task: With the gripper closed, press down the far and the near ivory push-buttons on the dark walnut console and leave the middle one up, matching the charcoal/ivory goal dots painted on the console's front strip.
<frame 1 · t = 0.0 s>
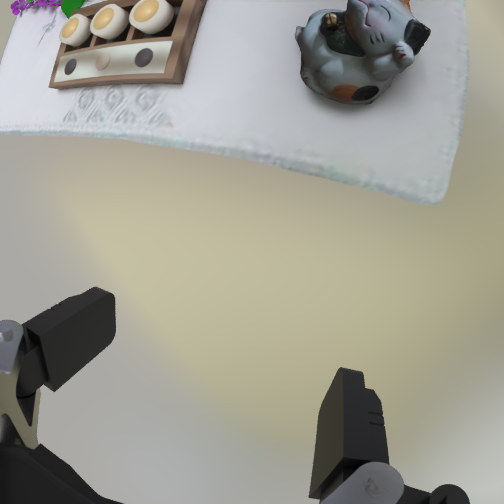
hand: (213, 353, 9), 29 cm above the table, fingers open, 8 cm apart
button mid: (109, 21, 30), point 5 cm above the table, slide at 0.0 cm
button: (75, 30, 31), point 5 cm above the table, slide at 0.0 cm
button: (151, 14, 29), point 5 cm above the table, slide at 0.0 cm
potted plant: (54, 3, 35), on the table
console: (122, 40, 35), on the table
lucky cat figurine: (351, 53, 30), on the table
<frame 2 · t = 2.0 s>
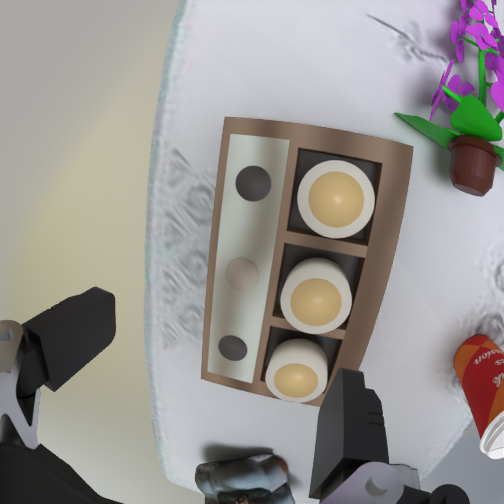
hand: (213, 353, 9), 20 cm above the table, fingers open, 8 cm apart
button mid: (316, 295, 24), point 5 cm above the table, slide at 0.0 cm
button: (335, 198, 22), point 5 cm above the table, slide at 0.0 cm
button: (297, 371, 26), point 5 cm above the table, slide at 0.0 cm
potted plant: (458, 38, 19), on the table
paper cup: (472, 353, 26), on the table
console: (297, 273, 29), on the table
lucky cat figurine: (255, 468, 38), on the table
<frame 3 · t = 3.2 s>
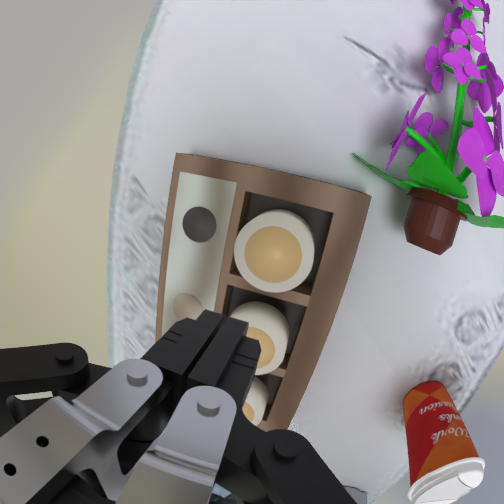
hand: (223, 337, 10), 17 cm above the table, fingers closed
button mid: (254, 339, 24), point 5 cm above the table, slide at 0.0 cm
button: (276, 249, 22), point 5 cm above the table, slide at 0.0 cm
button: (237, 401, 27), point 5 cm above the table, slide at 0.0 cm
potted plant: (440, 61, 19), on the table
paper cup: (423, 397, 27), on the table
console: (244, 309, 29), on the table
lucky cat figurine: (211, 473, 39), on the table
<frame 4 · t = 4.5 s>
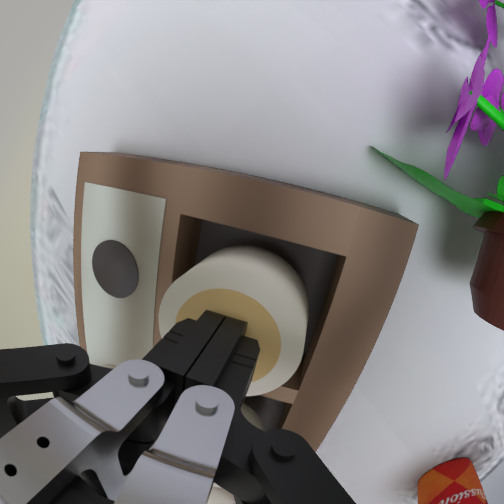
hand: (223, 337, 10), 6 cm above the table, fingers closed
button mid: (209, 443, 14), point 5 cm above the table, slide at 0.0 cm
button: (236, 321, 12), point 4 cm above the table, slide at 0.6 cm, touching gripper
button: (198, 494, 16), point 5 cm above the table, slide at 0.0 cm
potted plant: (482, 8, 8), on the table
paper cup: (444, 473, 17), on the table
console: (203, 384, 18), on the table
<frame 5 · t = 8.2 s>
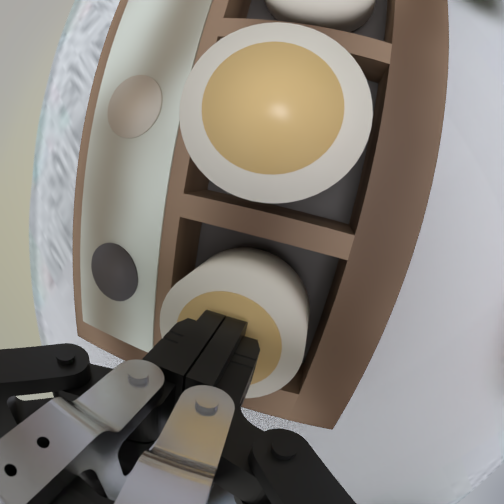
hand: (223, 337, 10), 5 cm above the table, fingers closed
button mid: (278, 114, 9), point 5 cm above the table, slide at 0.0 cm
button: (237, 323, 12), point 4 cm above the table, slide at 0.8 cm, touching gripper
console: (252, 126, 13), on the table
lucky cat figurine: (202, 488, 23), on the table
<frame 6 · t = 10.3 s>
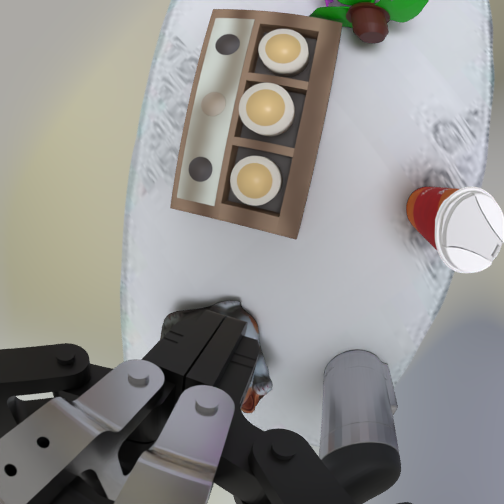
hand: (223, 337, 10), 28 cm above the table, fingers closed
button mid: (267, 110, 29), point 5 cm above the table, slide at 0.0 cm
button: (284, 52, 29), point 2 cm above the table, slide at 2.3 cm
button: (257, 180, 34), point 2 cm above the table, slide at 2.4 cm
paper cup: (424, 208, 32), on the table
console: (258, 113, 34), on the table
lucky cat figurine: (225, 337, 44), on the table
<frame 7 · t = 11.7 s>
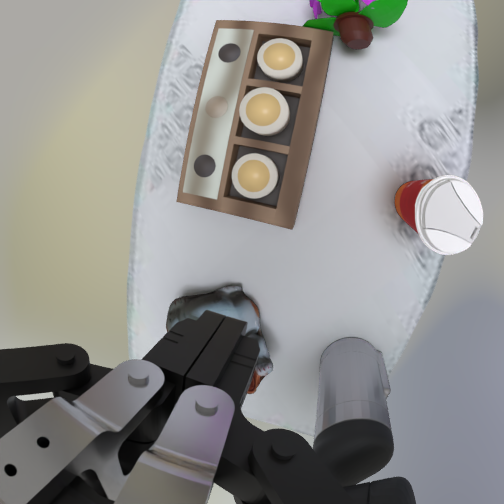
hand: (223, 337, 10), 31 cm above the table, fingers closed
button mid: (265, 112, 32), point 5 cm above the table, slide at 0.0 cm
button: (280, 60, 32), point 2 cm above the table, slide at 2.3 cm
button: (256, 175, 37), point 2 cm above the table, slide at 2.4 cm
paper cup: (412, 201, 35), on the table
console: (257, 116, 37), on the table
lucky cat figurine: (228, 323, 47), on the table
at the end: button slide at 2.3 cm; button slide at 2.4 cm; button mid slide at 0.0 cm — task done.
